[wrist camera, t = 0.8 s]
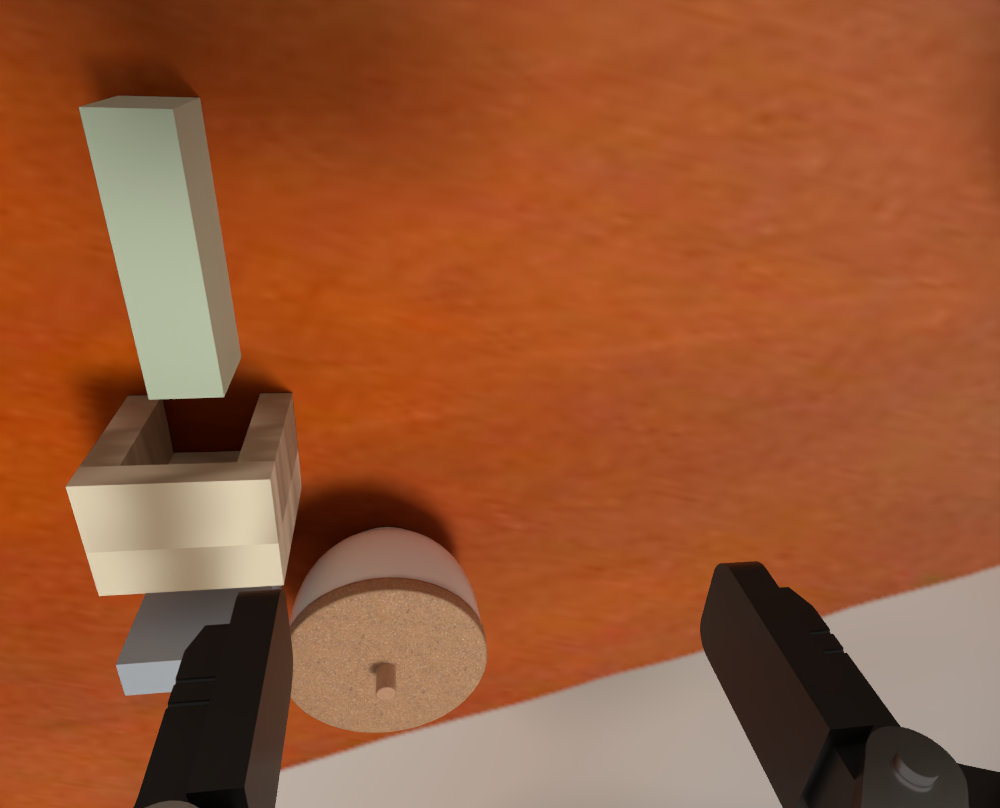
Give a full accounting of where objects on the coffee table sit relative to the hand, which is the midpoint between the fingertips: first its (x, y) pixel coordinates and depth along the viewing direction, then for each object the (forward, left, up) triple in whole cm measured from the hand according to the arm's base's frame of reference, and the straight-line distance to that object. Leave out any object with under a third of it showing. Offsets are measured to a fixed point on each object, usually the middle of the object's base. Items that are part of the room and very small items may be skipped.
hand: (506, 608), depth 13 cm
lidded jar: (+3, +20, -24) cm, 31 cm away
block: (+11, +11, -24) cm, 28 cm away
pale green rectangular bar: (+11, 0, -24) cm, 26 cm away
